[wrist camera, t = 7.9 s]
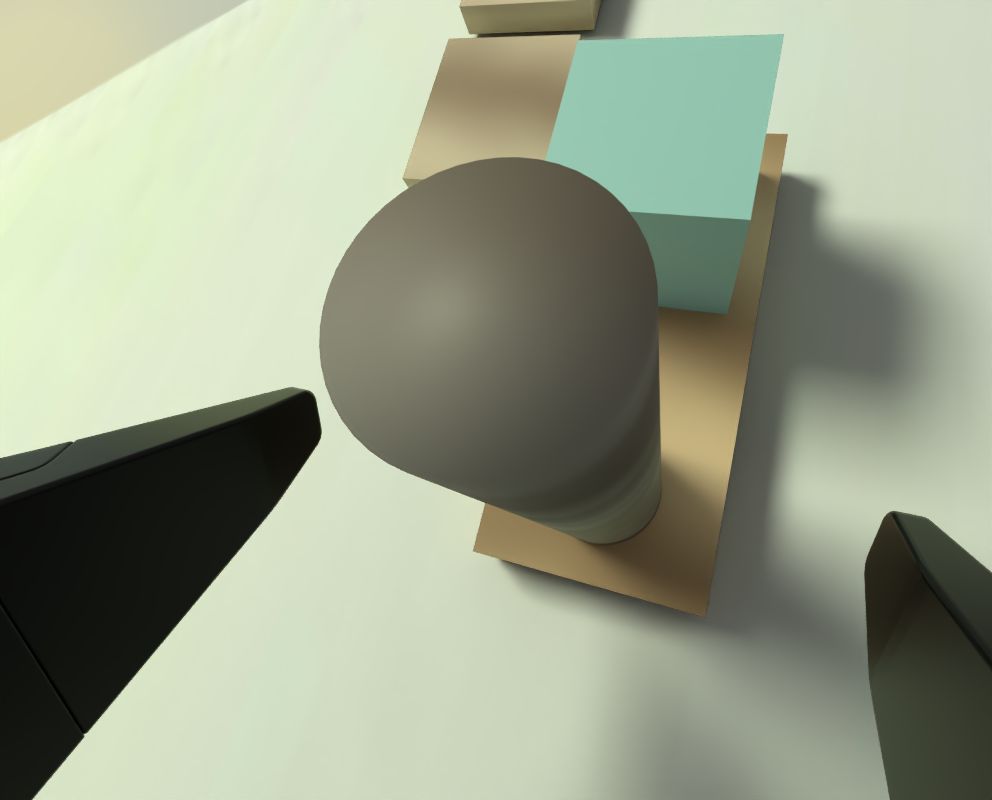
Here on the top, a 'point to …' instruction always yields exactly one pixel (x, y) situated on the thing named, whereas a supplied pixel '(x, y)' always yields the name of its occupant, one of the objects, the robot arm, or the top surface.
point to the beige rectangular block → (499, 84)
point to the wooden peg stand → (548, 370)
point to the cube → (675, 148)
